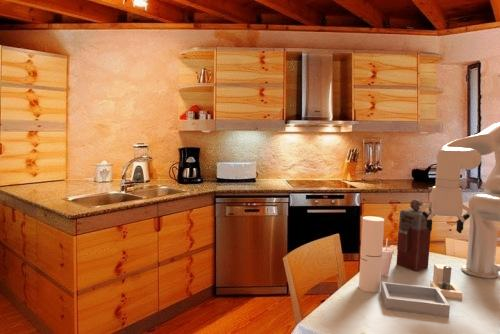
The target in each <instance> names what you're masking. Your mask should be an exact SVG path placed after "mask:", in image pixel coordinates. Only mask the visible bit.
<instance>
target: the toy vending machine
mask: <svg viewBox="0 0 500 334" xmlns="http://www.w3.org/2000/svg"><path fill="white" fill-rule="evenodd" d="M422 205H424V203H423V201H422V200H420V199H418V198H417V199H413V200H411V201H410V205H409V206H410V208H406V209H401V210H400V211H399V218H398V219H399V221H398V231H397V244H396V249H397V252H396V266H398V267H401V268H404V269H408V270H410V271H413V272H415V273H417V272H420V271H423V270H425V269H428V268H429V260H430V259H429V257H430V248H431V247H430V246H431V245H430V244H431V235H432V231H429V230H428V228H426V220H427V218H426V217H425V216H424V215H423V214H422V213H421V211H420V209H419V207H420V206H422ZM425 212H426V213H427V214H428V213H429V212H430V211H429V210H425ZM432 219H433V218H432ZM432 219H431V220H432ZM432 221H433V220H432Z"/></svg>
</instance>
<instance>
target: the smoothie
mask: <svg viewBox="0 0 500 334" xmlns="http://www.w3.org/2000/svg"><path fill="white" fill-rule="evenodd" d="M388 243H389V239H388V238H386V240H385V246H383V249H382V266H381V276H388V275H389V273H390V268H391V264H392V259H393V254H394V249H393V248H390V247H388Z"/></svg>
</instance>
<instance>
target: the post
mask: <svg viewBox="0 0 500 334" xmlns="http://www.w3.org/2000/svg"><path fill="white" fill-rule="evenodd" d="M451 276H452V267H451V266H448V265H447V266H444V268H443V280H442V289H445V290H450V283H451V279H452V278H451Z"/></svg>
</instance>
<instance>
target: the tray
mask: <svg viewBox="0 0 500 334" xmlns="http://www.w3.org/2000/svg"><path fill="white" fill-rule="evenodd" d="M380 293H381V296H382V300H383V303H384V306H385V307H384V308H385V309H386V310H392V311H398V312H399V311H400V312H408V313H417V314H424V315H432V316H433V315H434V316H441V317H450V310H451V308H450V307H451V305H450V303H449V302H448V300H447V299H446V297H444V296H443V294H442V293H441V291H440V290H439V288H435V287H430V286H426V285H414V284H406V283H405V284H404V283H398V282H397V283H396V282H387V281H381V282H380Z"/></svg>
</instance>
